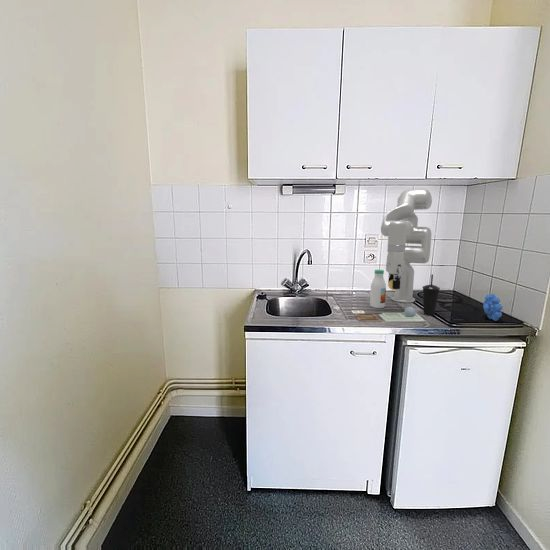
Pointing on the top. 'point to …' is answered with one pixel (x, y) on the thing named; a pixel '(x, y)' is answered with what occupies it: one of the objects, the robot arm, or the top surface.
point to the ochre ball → (391, 284)
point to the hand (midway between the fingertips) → (393, 287)
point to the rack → (400, 317)
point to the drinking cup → (430, 298)
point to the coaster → (367, 317)
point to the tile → (358, 312)
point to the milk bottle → (378, 290)
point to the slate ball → (410, 312)
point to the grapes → (492, 307)
